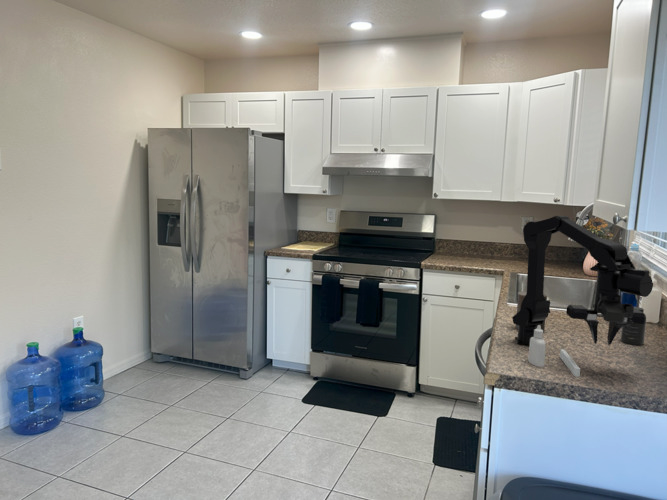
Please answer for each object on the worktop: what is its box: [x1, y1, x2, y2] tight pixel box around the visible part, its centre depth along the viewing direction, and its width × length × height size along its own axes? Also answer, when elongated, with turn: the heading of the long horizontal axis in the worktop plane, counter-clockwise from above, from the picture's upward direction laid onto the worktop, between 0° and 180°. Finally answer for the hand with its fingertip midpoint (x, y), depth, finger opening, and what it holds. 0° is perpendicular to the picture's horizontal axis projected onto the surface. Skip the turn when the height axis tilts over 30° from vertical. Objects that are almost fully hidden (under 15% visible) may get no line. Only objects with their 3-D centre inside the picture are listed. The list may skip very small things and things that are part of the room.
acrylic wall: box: [559, 348, 581, 378], centre depth 139 cm, size 16×1×3 cm, turn 168°
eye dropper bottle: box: [527, 325, 547, 368], centre depth 140 cm, size 4×6×12 cm
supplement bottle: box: [620, 306, 647, 346], centre depth 165 cm, size 7×7×12 cm
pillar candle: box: [515, 290, 548, 334], centre depth 175 cm, size 10×10×15 cm
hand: (602, 343), depth 137 cm, fingers open, 3 cm apart
